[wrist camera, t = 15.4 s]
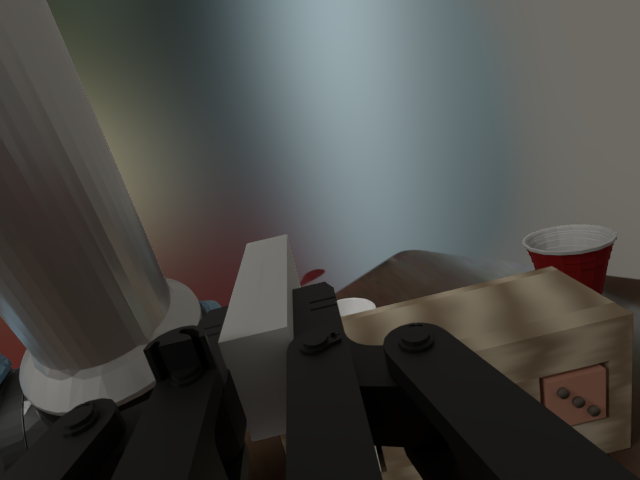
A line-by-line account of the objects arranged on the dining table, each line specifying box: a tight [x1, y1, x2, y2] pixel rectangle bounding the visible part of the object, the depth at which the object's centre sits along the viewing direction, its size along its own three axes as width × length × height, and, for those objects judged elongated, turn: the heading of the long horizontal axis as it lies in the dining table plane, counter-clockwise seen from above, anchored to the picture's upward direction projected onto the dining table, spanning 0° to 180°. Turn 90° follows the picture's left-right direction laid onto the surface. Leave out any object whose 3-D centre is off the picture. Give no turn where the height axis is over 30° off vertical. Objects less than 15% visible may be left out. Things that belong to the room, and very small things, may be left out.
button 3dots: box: [539, 363, 606, 426], centre depth 38 cm, size 5×8×5 cm, turn 5°
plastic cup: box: [522, 224, 618, 295], centre depth 55 cm, size 11×11×12 cm
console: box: [280, 266, 633, 480], centre depth 39 cm, size 30×10×14 cm, turn 95°
